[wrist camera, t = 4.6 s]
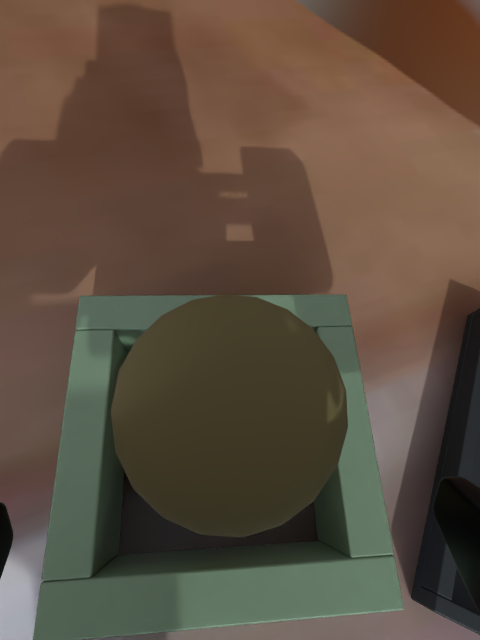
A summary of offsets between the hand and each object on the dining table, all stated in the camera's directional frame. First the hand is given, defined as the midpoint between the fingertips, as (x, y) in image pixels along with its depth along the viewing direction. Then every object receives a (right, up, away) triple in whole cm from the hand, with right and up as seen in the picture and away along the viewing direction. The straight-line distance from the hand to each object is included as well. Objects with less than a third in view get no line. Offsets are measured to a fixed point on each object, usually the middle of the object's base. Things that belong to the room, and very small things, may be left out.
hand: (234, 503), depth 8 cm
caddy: (-1, -2, +9) cm, 10 cm away
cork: (-1, -2, +9) cm, 10 cm away
